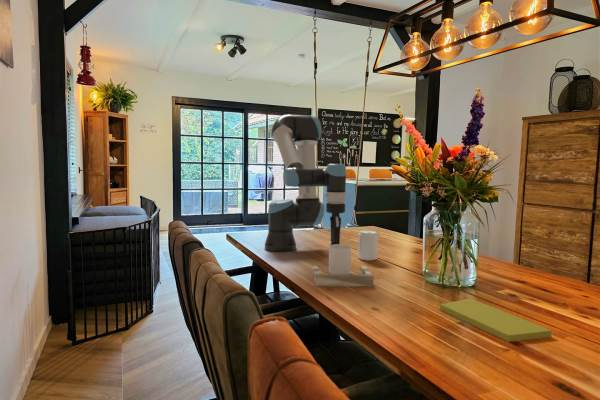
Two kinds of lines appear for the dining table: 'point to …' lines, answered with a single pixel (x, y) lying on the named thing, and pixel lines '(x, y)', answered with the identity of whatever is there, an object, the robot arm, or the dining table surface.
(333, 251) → the mug
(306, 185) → the robot arm
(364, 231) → the beverage can
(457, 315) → the flat olive board
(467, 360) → the dining table surface
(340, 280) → the dock
